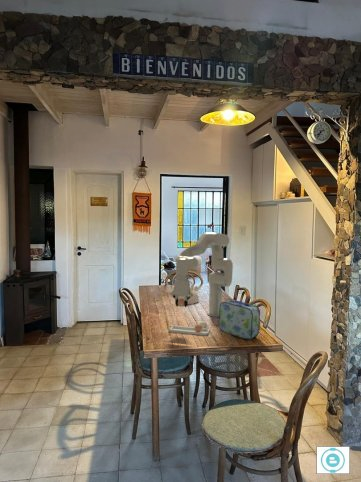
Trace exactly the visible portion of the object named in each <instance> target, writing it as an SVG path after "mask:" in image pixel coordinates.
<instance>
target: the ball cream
mask: <svg viewBox="0 0 361 482" xmlns="http://www.w3.org/2000/svg"><path fill="white" fill-rule="evenodd" d="M199 324H200V325H201V326H202V328H205V329H207V327H208V324H207V322H206V321H205V320H204V321H203V320H202V321H200V322H199Z"/></svg>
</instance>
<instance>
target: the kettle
mask: <svg viewBox="0 0 361 482" xmlns="http://www.w3.org/2000/svg"><path fill="white" fill-rule="evenodd" d="M189 282H190V291H191V293H192V294H193V296H192V297H191V298H189V299H188V305H194V303H195V304H197V302H198V303H199V300H200V299H199V295H198V292H197V290H198V289H199V287H198V286H197V285H195V286H194V283H193V281H191V280H189ZM189 296H190V294H189V295H188V297H189ZM179 299H184V300H185V296H178V300H179Z"/></svg>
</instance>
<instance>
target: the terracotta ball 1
mask: <svg viewBox="0 0 361 482" xmlns="http://www.w3.org/2000/svg"><path fill="white" fill-rule="evenodd" d="M178 306H179V307H180V308H183V307H185V300H184V299H179V300H178Z"/></svg>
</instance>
